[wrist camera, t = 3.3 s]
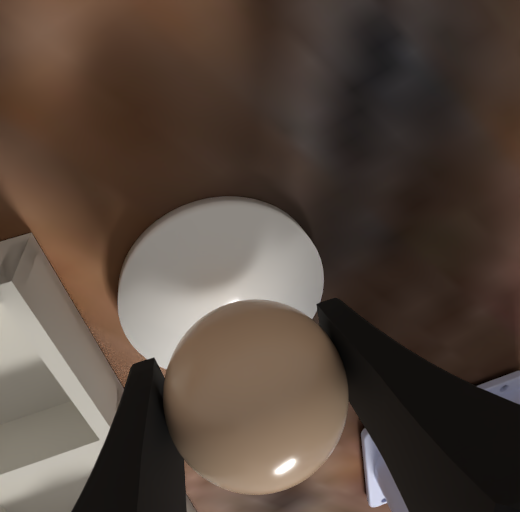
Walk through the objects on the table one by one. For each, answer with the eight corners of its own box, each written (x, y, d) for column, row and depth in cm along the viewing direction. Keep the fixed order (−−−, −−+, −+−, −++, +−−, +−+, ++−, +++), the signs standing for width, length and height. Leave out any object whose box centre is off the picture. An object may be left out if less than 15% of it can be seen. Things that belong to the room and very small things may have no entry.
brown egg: (299, 244, 12) (380, 367, 8) (318, 358, 15) (386, 491, 11) (134, 296, 12) (134, 453, 8) (185, 403, 14) (204, 561, 10)
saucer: (302, 169, 13) (311, 179, 13) (324, 327, 17) (332, 340, 17) (82, 234, 13) (79, 247, 12) (158, 383, 16) (159, 399, 16)
